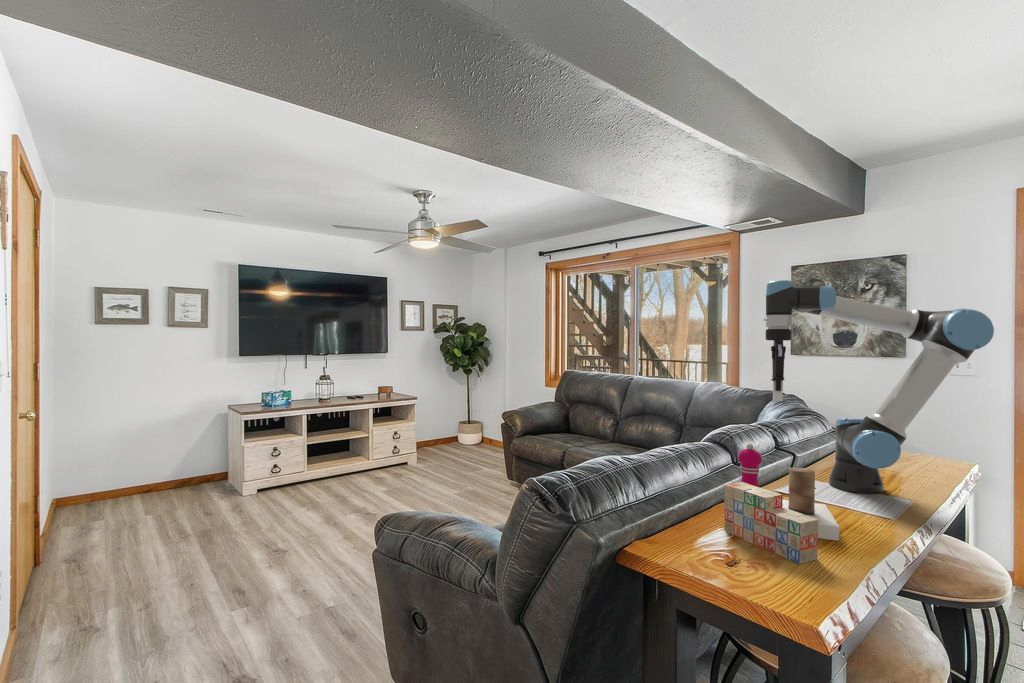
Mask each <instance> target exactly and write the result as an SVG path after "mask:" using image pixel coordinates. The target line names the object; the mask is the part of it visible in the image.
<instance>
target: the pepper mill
mask: <svg viewBox="0 0 1024 683" xmlns="http://www.w3.org/2000/svg"><path fill="white" fill-rule="evenodd" d="M745 447H746V448H744V449H742V450H741V451H740V452H739V453H738V456H737V459H738V462H739V465H740V466H739V471H740V472H741V481H740V482H744V483H747V484H750V485H753V486H756V487H759V488H760V486H759V483H758V482H759V481H758V476H759V473H760V467H759V466H760V465H761V464H762V454H760V452H759V451H757V450H756V449H754V445H753V443H747V444H746V446H745Z"/></svg>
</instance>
